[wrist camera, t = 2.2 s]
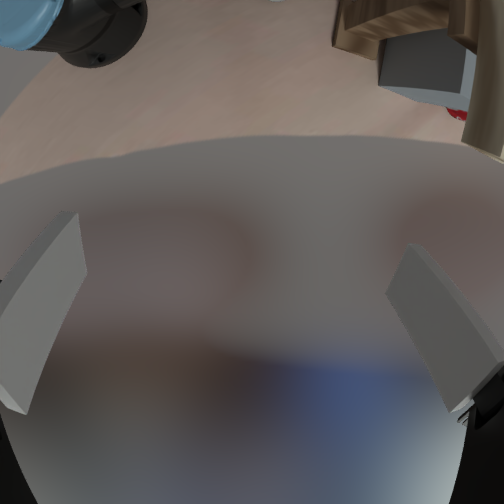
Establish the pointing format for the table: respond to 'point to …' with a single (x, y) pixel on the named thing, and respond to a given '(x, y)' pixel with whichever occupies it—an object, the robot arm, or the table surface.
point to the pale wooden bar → (488, 85)
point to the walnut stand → (403, 22)
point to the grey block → (429, 69)
